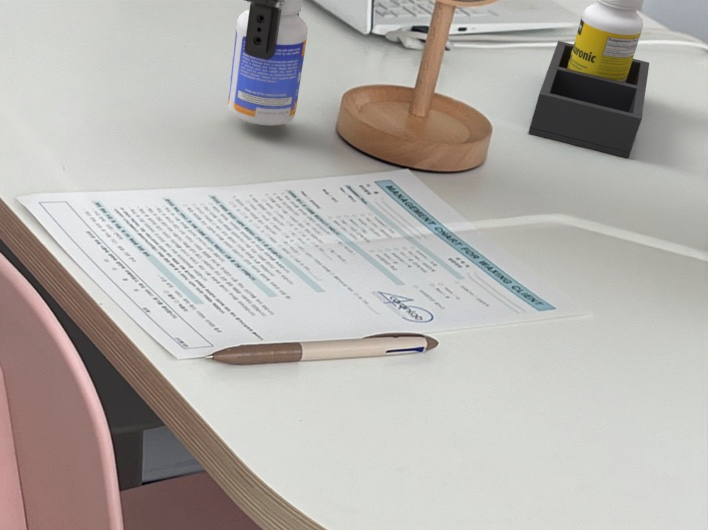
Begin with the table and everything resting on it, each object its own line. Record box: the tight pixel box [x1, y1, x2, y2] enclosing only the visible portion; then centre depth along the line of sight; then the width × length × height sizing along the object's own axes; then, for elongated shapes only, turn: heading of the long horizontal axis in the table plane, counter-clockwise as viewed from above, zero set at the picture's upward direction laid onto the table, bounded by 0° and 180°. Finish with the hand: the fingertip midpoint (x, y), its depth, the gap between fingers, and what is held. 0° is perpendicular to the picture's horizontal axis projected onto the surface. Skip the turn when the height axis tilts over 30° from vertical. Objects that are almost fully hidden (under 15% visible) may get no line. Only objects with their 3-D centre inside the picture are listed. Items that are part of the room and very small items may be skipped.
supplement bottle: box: [567, 0, 644, 83], centre depth 117 cm, size 5×5×10 cm
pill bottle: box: [227, 0, 308, 126], centre depth 99 cm, size 5×5×10 cm
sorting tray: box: [527, 40, 650, 159], centre depth 116 cm, size 16×9×4 cm, turn 164°
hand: (270, 44), depth 99 cm, fingers closed on pill bottle, 5 cm apart
